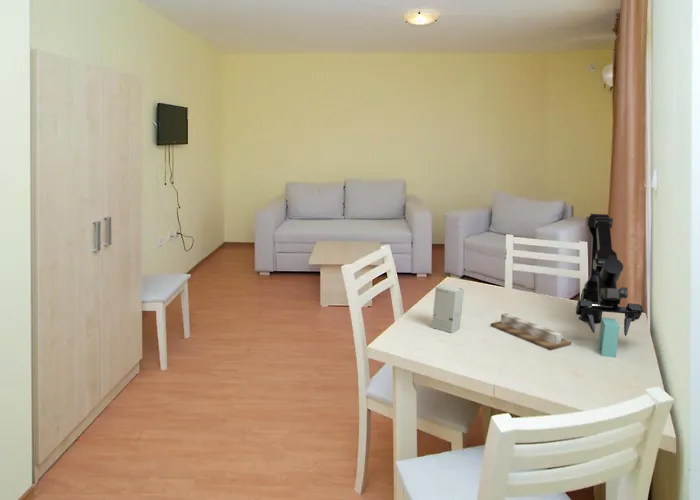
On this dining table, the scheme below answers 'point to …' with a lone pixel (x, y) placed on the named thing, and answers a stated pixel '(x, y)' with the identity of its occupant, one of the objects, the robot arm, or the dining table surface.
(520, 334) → the rail board
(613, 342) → the teal rectangular block
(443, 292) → the skincare box
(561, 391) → the dining table surface
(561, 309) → the dining table surface
